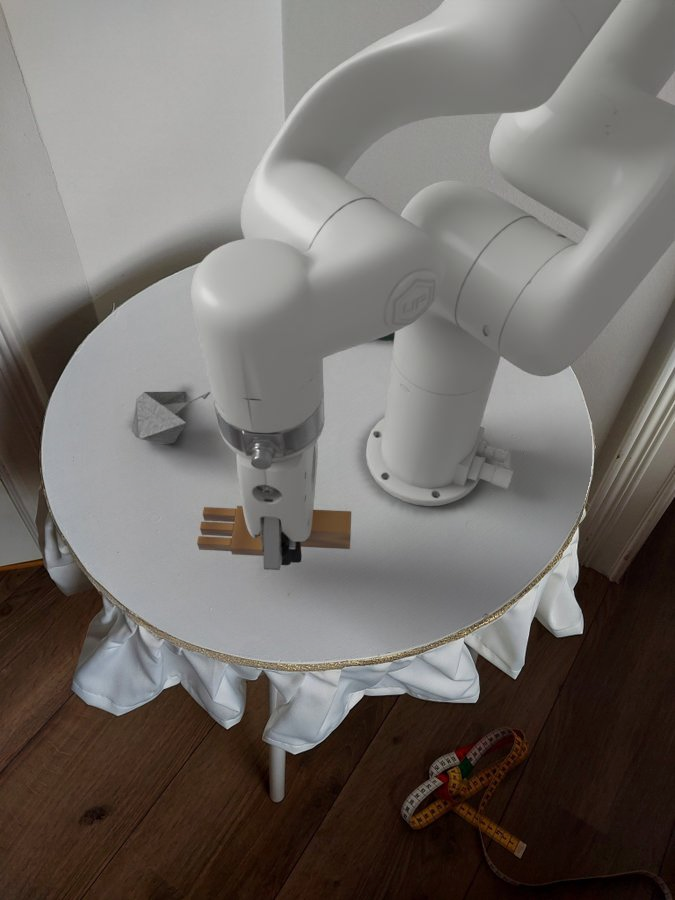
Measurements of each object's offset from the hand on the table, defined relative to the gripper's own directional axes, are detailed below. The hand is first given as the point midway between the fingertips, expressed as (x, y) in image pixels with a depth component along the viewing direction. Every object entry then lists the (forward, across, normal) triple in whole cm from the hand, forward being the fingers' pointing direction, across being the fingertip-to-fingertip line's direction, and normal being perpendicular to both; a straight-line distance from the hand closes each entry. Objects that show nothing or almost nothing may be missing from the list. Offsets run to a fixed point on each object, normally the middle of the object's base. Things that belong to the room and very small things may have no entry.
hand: (286, 532), depth 65 cm
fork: (+1, 0, +1) cm, 1 cm away
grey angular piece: (+6, +15, +14) cm, 21 cm away
